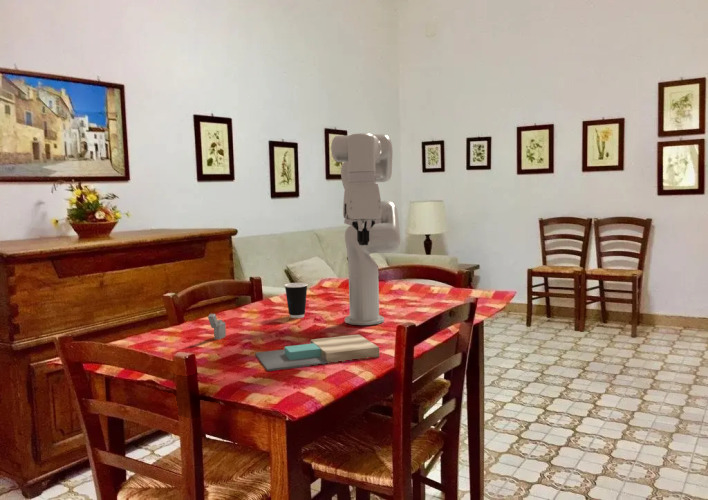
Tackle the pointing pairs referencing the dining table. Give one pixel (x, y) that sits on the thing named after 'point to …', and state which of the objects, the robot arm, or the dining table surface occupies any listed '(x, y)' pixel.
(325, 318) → the dining table surface
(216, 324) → the lighter
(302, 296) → the dixie cup
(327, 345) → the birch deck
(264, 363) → the rubber mat
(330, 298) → the dining table surface
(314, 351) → the teal tile
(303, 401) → the dining table surface
